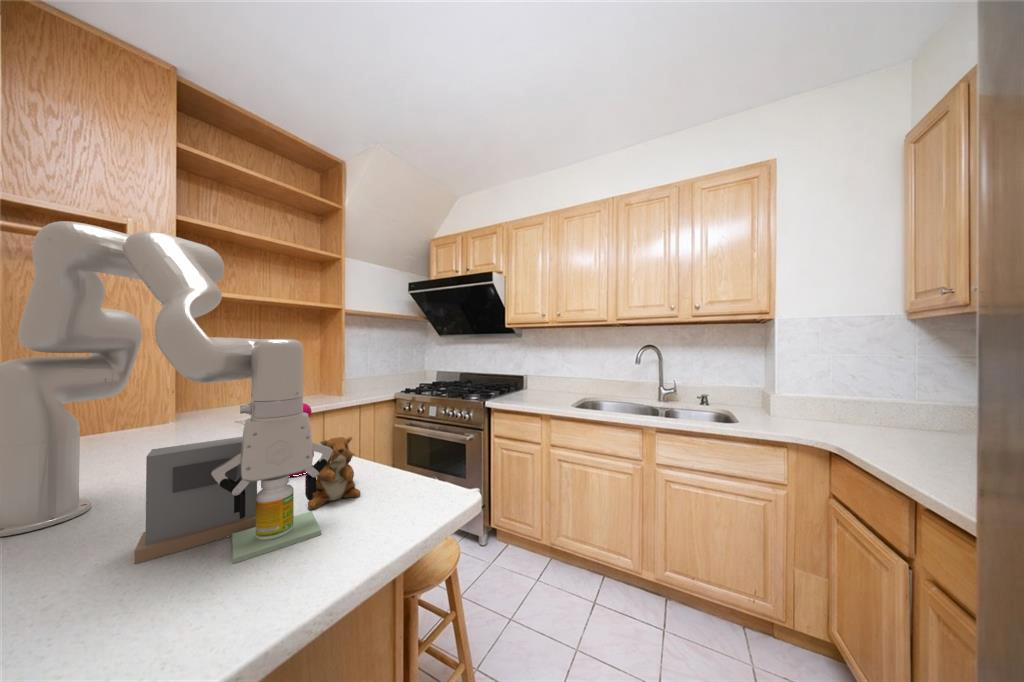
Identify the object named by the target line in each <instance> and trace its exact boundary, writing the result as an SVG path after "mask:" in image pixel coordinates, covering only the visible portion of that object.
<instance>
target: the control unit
mask: <svg viewBox="0 0 1024 682" xmlns="http://www.w3.org/2000/svg"><path fill="white" fill-rule="evenodd" d="M242 437H243V436H236V437H231V438H223V439H216V440H215V439H214V440H209V441H208V440H207V441H201V442H196V443H195V442H194V443H188V444H187V443H186V444H180V445H173V446H167V447H160V448H152V449H151V450H150V451H149V452H148V454H147V456H146V461H145V462H146V465H145V466H146V467H145V468H146V469H145V472H146V473H145V476H146V477H145V530H144V531H143V532H142V534H141V536H140V538H139V540H138V543H137V545H136V547H135V549H134V558H133V560H134V562H133V563H134V564H133V565H136V564H140V563H144V562H147V561H151V560H154V559H157V558H160V557H164V556H167V555H171V554H175V553H177V552H182V551H185V550H188V549H192V548H196V547H198V546H202V545H205V544H208V543H212V541H213V542H216V541H219V539H220V540H223V539H226V537H227V538H230V537H232V534H233V533H237V532H240V531H244V530H247V529H251V528H254V527H256V496H257V494H258V481H254V482H250V483H249V484H248V485H247V486H246V487H245V488H244V489H245V517H244V518H242V519H240V516H239V512H237V513H234V495H233V494H232V493H231V492H229V491H227V490H225V489H224V488H222V487H220V485H219V484H218V482H217V481H216V480H215V479H214V477H213V476H212V475H211V473H212V470H213V469H214V468H216V467H218V466H219V465H221V464H223V463H225V462H226V461H228V460H230V459H232V458H233V457H235V456H237V455H239V454H241V445H242ZM225 474H226V476H227V477H228V478H230V479H232V480H234V481H235V482H236V481H237V480H238V478H239V477H240V476H241V471H240V464H239V465H237V466H235V467H234V468H232V469H230V470H229V471H227V472H226V473H225ZM215 540H216V541H215Z"/></svg>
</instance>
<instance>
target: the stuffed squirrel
mask: <svg viewBox="0 0 1024 682" xmlns="http://www.w3.org/2000/svg"><path fill="white" fill-rule="evenodd" d="M353 439H354V438H353V436H349V437H340V436H339V437H331V438H330V439H325V438H323V439H320V441H319V442H320V445H323V446H327V447H330V448H331V449H332V450H333V452H332V454H331V456H330V458H329V460H328V461H327V464H326V466H325V467H324V468H323V469H322V470H321V471H320V472H319V474H318V476H317V477H316V492H315V493H313V500H308V502H307V507H308V509H309V510H311V511H312V510H315V509H317V508H319V507H321V506H322V505H324V504H325V503H326V502H329V501H331V500H333V501H337V500H340V499H342V498H343V497H344V498H343V499H349V498H348V497H357V498H359V497H360V496H361V491H360V490H359V489H358V488H356V484H355V481H354V480H353V479H354V476H355V472H354V469H353V467H352V465H350V464H349V463H351V461H352V459H353V456H356V454H355V453H353V451H352V450H350V449H349V448H350V447H349V444H350V443H351V441H352V440H353ZM358 496H359V497H358ZM345 497H346V498H345ZM336 499H337V500H336Z"/></svg>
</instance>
